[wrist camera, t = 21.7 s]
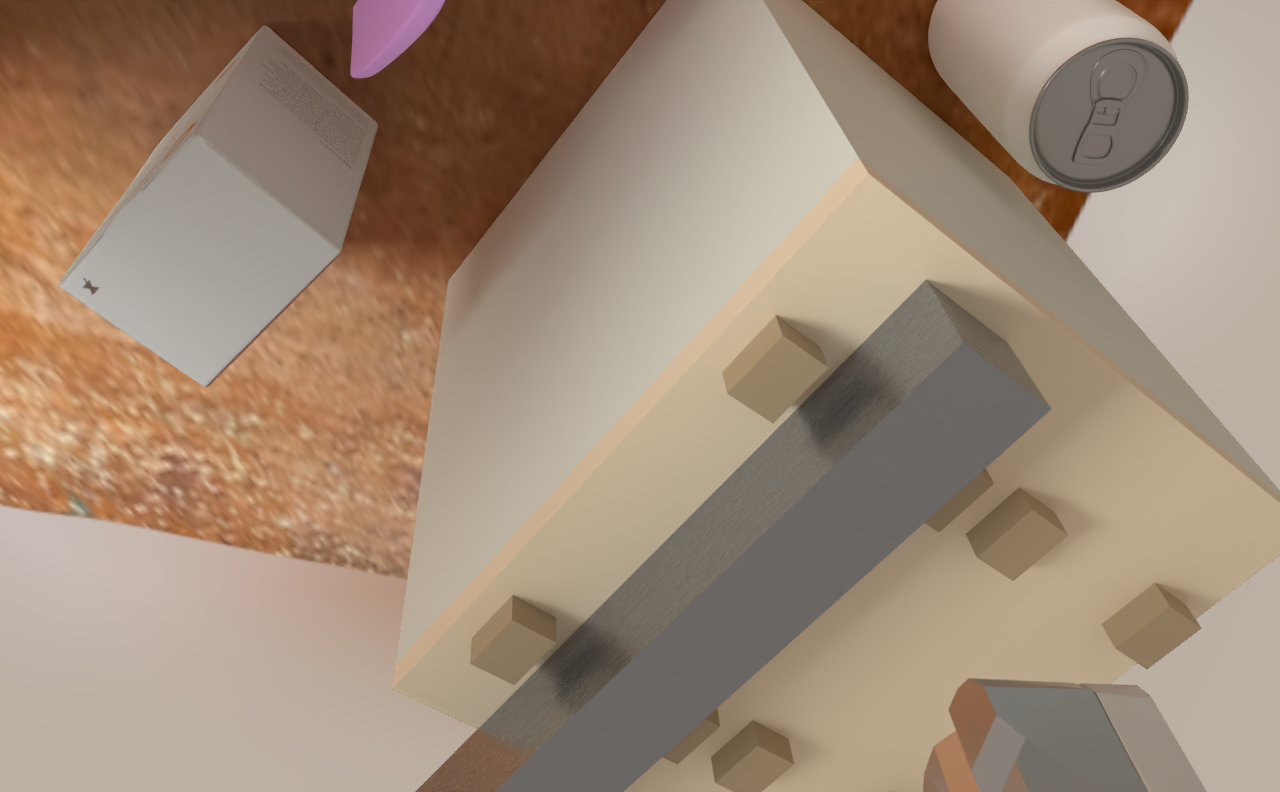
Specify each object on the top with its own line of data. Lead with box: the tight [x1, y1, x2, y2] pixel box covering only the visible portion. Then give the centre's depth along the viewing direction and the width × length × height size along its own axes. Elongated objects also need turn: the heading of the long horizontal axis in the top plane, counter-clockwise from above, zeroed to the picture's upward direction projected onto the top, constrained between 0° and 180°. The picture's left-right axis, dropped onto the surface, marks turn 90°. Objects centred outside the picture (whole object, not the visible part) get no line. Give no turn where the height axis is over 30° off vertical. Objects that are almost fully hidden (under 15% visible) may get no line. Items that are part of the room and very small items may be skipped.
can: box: [928, 0, 1188, 193], centre depth 47 cm, size 6×6×12 cm
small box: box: [58, 25, 378, 387], centre depth 47 cm, size 8×6×13 cm
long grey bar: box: [416, 280, 1051, 792], centre depth 33 cm, size 28×3×3 cm, turn 141°
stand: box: [392, 0, 1280, 792], centre depth 45 cm, size 20×18×27 cm
